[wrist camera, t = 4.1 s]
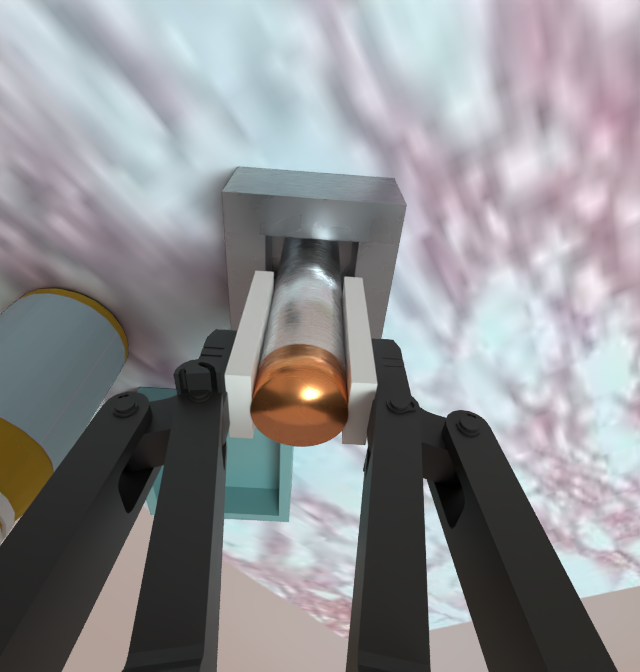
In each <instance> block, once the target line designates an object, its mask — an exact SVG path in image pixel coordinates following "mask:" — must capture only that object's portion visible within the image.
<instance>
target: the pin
mask: <svg viewBox="0 0 640 672" xmlns="http://www.w3.org/2000/svg"><path fill="white" fill-rule="evenodd" d="M250 413H251V418H252V421H253V423H254V425H255V426H256V428H257V429H258V430H259V431H260V432H261V433H262V434H264V435H265V436H266V437H268V438H269V439H271V440H273V441H276V442H278V443H281V444H285V445H289V446H298V447H305V446H313V445H318V444H321V443H324V442H327V441H329V440H331V439H332V438H334V437H335V436H337V435H338V434H339V433H340V432H341V431H342V430H343V428H344V427H345V425H346V423H347V420H348V400H347V382H346V364H345V346H344V327H343V309H342V289H341V271H340V254H339V246H338V243H337V241H336V240H326V239H311V238H297V237H287V238H286V240H285V242H284V245H283V249H282V254H281V259H280V264H279V269H278V274H277V279H276V284H275V289H274V294H273V299H272V304H271V309H270V314H269V319H268V324H267V329H266V334H265V339H264V344H263V348H262V353H261V358H260V363H259V368H258V373H257V378H256V383H255V388H254V393H253V398H252V403H251V408H250Z"/></svg>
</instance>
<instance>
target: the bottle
mask: <svg viewBox="0 0 640 672" xmlns="http://www.w3.org/2000/svg"><path fill="white" fill-rule="evenodd" d="M127 357H128V341H127V338H126V335H125V333H124V330H123V329H122V327H121V325H120V324H119V323H118V321H117V320H116V319H115V318H114V316H113V315H112V314H111V313H110V312H109V311H108V310H107V309H106V308H104V307H103V306H102V305H101V304H99V303H98V302H96V301H95V300H93V299H90V298H88V297H86V296H84V295H82V294H79V293H75V292H71V291H67V290H62V289H55V288H52V289H38V290H35V291H32V292H30V293H27V294H25V295H24V296H22V297H21V298H20V299H19V300H17V301H15V302H14V303H13V304H12V305H11V306H10V307H9V308H7V309H6V310H5V311H4V312H3V313H2V314H0V543H1V542H2V541H3V539H4V538H5V537H6V536H7V534H8V532H9V531H10V529H11V528H12V526H13V525H14V522H15V521H16V520H17V519H18V518H19V517H21V516H22V515H23V514H24V513H25V511H26V510H27V509H28V507H29V506H30V505H31V503H32V502H33V500H34V499H35V498H36V496H37V495H38V494H39V492H40V491H41V489H42V488H43V487H44V485H45V484H46V483H47V481H48V480H49V478H50V477H51V476H52V474H53V473H54V472H55V470H56V469H57V467H58V466H59V465H60V463H61V462H62V461H63V459H64V458H65V457H66V455H67V454H68V452H69V451H70V450H71V448H72V447H73V446H74V444H75V443H76V441H77V440H78V439H79V437H80V436H81V435H82V433H83V431H84V430H85V428H86V426H87V425H88V423H89V422H90V420H91V418H92V417H93V415H94V413H95V412H96V410H97V408H98V407H99V405H100V404H101V402H102V400H103V399H104V397H105V395H106V394H107V392H108V390H109V389H110V387H111V386H112V384H113V382H114V381H115V379H116V377H117V376H118V374H119V372H120V371H121V369H122V367H123V365H124V363H125V361H126V359H127Z"/></svg>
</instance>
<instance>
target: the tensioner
mask: <svg viewBox="0 0 640 672" xmlns="http://www.w3.org/2000/svg"><path fill="white" fill-rule="evenodd" d="M222 200H223V216H224V231H225V246H226V261H227V276H228V291H229V307H230V322H231V330H234V331H238V328H239V324H240V321H241V318H242V314H243V311H244V308H245V304H246V301H247V298H248V294H249V291H250V287H251V284H252V281H253V277H254V274H255V271H268V272H274V289H275V284H276V279H277V274H278V269H279V264H280V259H281V254H282V249H283V245H284V242H285V240H286V238H287V237H297V238H311V239H326V240H336V241H337V243H338V246H339V254H340V271H341V289H342V293H343V285H344V277H356V278H362V279H363V286H364V293H365V300H366V307H367V314H368V321H369V328H370V335H371V338H374V339H381V337H382V332H383V327H384V321H385V316H386V311H387V306H388V300H389V295H390V290H391V285H392V279H393V274H394V269H395V264H396V258H397V253H398V248H399V243H400V237H401V232H402V227H403V221H404V216H405V211H406V206H407V205H406V203H405V200H404V198H403V196H402V194H401V192H400V189H399V187H398V185H397V183H396V181H395V179H394V178H381V177H368V176H355V175H341V174H328V173H315V172H302V171H288V170H275V169H262V168H248V167H238V168H237V169H236V171H235V172H234V174H233V175H232V177H231V178H230V180H229V181H228V183H227V184H226V186H225V187H224V189H223V191H222Z"/></svg>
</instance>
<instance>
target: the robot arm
mask: <svg viewBox="0 0 640 672" xmlns="http://www.w3.org/2000/svg"><path fill="white" fill-rule="evenodd" d="M273 294H274V272H268V271H255V274H254V277H253V281H252V284H251V287H250V291H249V294H248V298H247V301H246V304H245V308H244V311H243V314H242V318H241V321H240V324H239V328H238V331H234V330H218V329H216V330H215V331H214V332H212V333H211V334H210V335H209V336H208V337H207V339H206V341H205V344H204V347H203V349H202V352H201V356H200V357H199V359H197V360H190V361H188V362H185V363H183V364H182V365H180V366H179V367H178V368H177V369H176V371H175V373H174V379H175V384H176V390H177V395H175V396H173V397H170V398H166V399H162V400H156V401H150V402H149V400H148V398H147V397H146V396H145V395H144V394H141V393H138V392H125V393H121V394H118V395H116V396H114V397H112V398H110V399H109V400H108V401H107V402H106V403H105V404H104V405H103V406H102V407H101V409H100V410H99V411H98V413H97V414H96V415H95V417H94V418H93V420H92V421H91V422H90V424H89V425H88V426H87V428H86V429H85V430H84V432H83V433H82V435H81V436H80V437H79V439H78V440H77V441H76V443H75V444H74V446H73V447H72V448H71V450H70V451H69V452H68V454H67V455H66V457H65V458H64V459H63V461H62V462H61V463H60V465H59V466H58V467H57V469H56V470H55V472H54V473H53V474H52V476H51V477H50V478H49V480H48V481H47V483H46V484H45V485H44V487H43V488H42V489H41V491H40V492H39V494H38V495H37V496H36V498H35V499H34V500H33V502H32V503H31V505H30V506H29V507H28V509H27V510H26V511H25V513H24V514H23V515H22V517H21V518H20V520H19V521H18V523H17V524H16V525H15V526H14V528H13V529H12V531H11V532H10V533H9V535H8V536H7V537H6V539H5V540H4V542H3V543H2V544H1V546H0V672H61V671H62V670H63V667H64V666H65V664H66V661H67V659H68V657H69V655H70V653H71V651H72V649H73V647H74V645H75V643H76V641H77V639H78V637H79V635H80V633H81V631H82V629H83V627H84V625H85V623H86V621H87V619H88V617H89V614H90V612H91V610H92V608H93V606H94V604H95V602H96V600H97V598H98V596H99V594H100V592H101V590H102V588H103V586H104V584H105V582H106V580H107V578H108V576H109V574H110V572H111V570H112V568H113V565H114V564H115V561H116V559H117V557H118V555H119V553H120V551H121V549H122V547H123V545H124V543H125V541H126V539H127V537H128V535H129V533H130V531H131V529H132V527H133V525H134V522H135V521H136V519H137V517H138V514H139V512H140V510H141V508H142V506H143V504H144V502H145V500H146V498H147V496H148V494H149V492H150V490H151V488H152V486H153V484H154V482H155V480H156V478H157V476H158V474H159V472H160V470H161V467H162V466H163V465H164V468H163V473H162V478H161V484H160V489H159V494H158V500H157V505H156V510H155V515H154V521H153V526H152V531H151V536H150V542H149V547H148V553H147V558H146V563H145V568H144V574H143V579H142V584H141V589H140V594H139V600H138V605H137V611H136V616H135V621H134V626H133V631H132V637H131V642H130V647H129V652H128V657H127V661H126V664H125V667H124V669H123V670H122V672H217V651H218V649H217V648H218V630H219V609H220V589H221V568H222V567H221V566H222V547H223V526H224V506H225V485H226V464H227V441H226V439H227V435H228V431H229V434H230V437H231V438H249V439H253V436H254V430H255V425H254V423H253V421H252V418H251V413H250V408H251V403H252V398H253V393H254V388H255V383H256V378H257V373H258V368H259V363H260V358H261V353H262V348H263V344H264V339H265V334H266V329H267V324H268V319H269V314H270V309H271V304H272V299H273ZM342 309H343V327H344V346H345V364H346V382H347V400H348V420H347V423H346V425H345V427H344V428H343V430H342V444H356V445H365V444H366V439H367V440H368V449H367V454H366V459H365V463H364V468H363V471H364V482H363V493H362V504H361V514H360V525H359V536H358V546H357V557H356V567H355V578H354V589H353V599H352V610H351V621H350V631H349V642H348V653H347V663H346V672H431V669H430V648H429V621H428V596H427V571H426V546H425V520H424V495H423V478H425V479H427V482H428V485H429V488H430V491H431V494H432V497H433V501H434V504H435V507H436V510H437V513H438V516H439V519H440V522H441V525H442V528H443V532H444V535H445V538H446V541H447V544H448V547H449V550H450V553H451V556H452V559H453V562H454V566H455V569H456V572H457V575H458V578H459V581H460V584H461V587H462V590H463V593H464V597H465V600H466V603H467V606H468V609H469V612H470V615H471V618H472V621H473V624H474V628H475V630H476V633H477V636H478V640H479V643H480V646H481V649H482V652H483V655H484V658H485V661H486V665H487V668H488V671H489V672H618V671H617V669H616V667H615V665H614V663H613V661H612V659H611V658H610V655H609V654H608V652H607V650H606V648H605V646H604V644H603V642H602V640H601V638H600V636H599V634H598V632H597V631H596V629H595V627H594V625H593V623H592V621H591V619H590V617H589V616H588V614H587V611H586V610H585V608H584V606H583V604H582V602H581V600H580V598H579V596H578V594H577V592H576V590H575V589H574V587H573V585H572V583H571V581H570V579H569V577H568V575H567V573H566V571H565V569H564V567H563V566H562V564H561V562H560V560H559V558H558V556H557V554H556V552H555V550H554V548H553V546H552V545H551V543H550V541H549V539H548V537H547V535H546V533H545V531H544V529H543V527H542V525H541V524H540V522H539V520H538V518H537V516H536V514H535V512H534V510H533V508H532V506H531V504H530V502H529V501H528V499H527V497H526V495H525V493H524V491H523V489H522V487H521V485H520V483H519V481H518V480H517V478H516V476H515V474H514V472H513V470H512V468H511V466H510V464H509V462H508V460H507V459H506V457H505V455H504V453H503V451H502V449H501V447H500V445H499V443H498V441H497V439H496V437H495V436H494V434H493V432H492V430H491V428H490V426H489V425H488V423H487V422H486V421H485V420H484V419H483V418H482V417H480V416H479V415H477V414H475V413H472V412H470V411H464V410H458V411H453V412H451V413H450V414H448V416H447V418H445V417H442V416H438V415H435V414H432V413H430V412H427V411H425V410H424V409H422V408H420V407H419V404H418V402H417V401H416V400H415V399H414V397H412V396H411V393H410V388H409V384H408V380H407V375H406V371H405V368H404V362H403V360H402V359H403V358H402V353H401V349H400V348H399V346H398V345H397V344H396V343H395V342H394V340H389V339H374V338H371V335H370V328H369V321H368V314H367V307H366V300H365V293H364V286H363V279H362V278H356V277H344V285H343V293H342Z"/></svg>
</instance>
